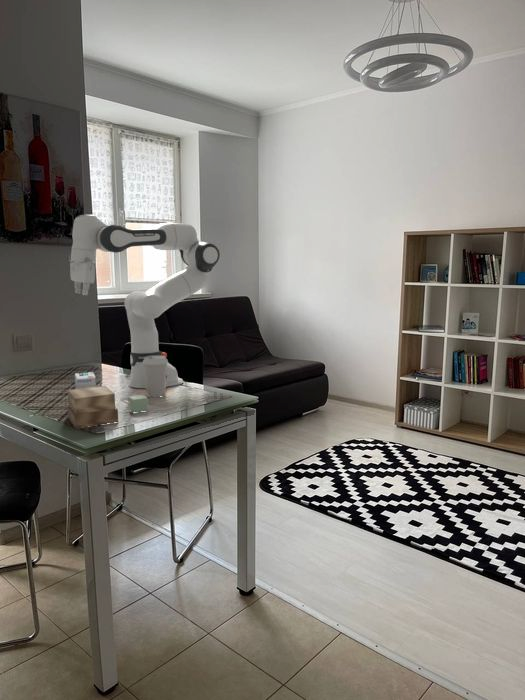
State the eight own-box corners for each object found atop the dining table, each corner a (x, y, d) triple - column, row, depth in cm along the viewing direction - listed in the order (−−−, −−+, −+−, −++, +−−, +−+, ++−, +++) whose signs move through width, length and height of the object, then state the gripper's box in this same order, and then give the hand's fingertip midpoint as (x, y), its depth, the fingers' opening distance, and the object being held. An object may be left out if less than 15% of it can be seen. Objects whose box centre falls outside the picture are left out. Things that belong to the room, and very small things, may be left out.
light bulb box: (75, 401, 190) (73, 373, 188) (94, 399, 193) (93, 371, 191) (77, 409, 180) (75, 378, 178) (97, 407, 183) (96, 377, 181)
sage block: (143, 408, 181) (143, 394, 180) (148, 412, 177) (147, 397, 176) (129, 410, 179) (129, 396, 178) (133, 414, 174) (132, 399, 173)
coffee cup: (147, 392, 204) (145, 355, 201) (171, 392, 203) (170, 355, 201) (140, 398, 194) (139, 359, 192) (166, 398, 194) (164, 359, 192)
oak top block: (106, 400, 174) (105, 385, 173) (115, 409, 164) (114, 393, 163) (68, 405, 168) (67, 390, 167) (75, 414, 158) (74, 398, 157)
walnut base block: (108, 414, 175) (108, 400, 174) (118, 424, 164) (117, 409, 163) (68, 419, 169) (67, 405, 168) (75, 430, 158) (74, 414, 157)
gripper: (100, 259, 189) (97, 296, 191) (84, 258, 206) (82, 293, 207) (82, 257, 186) (80, 295, 187) (67, 256, 202) (66, 291, 204)
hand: (81, 294), depth 198 cm, fingers open, 8 cm apart
